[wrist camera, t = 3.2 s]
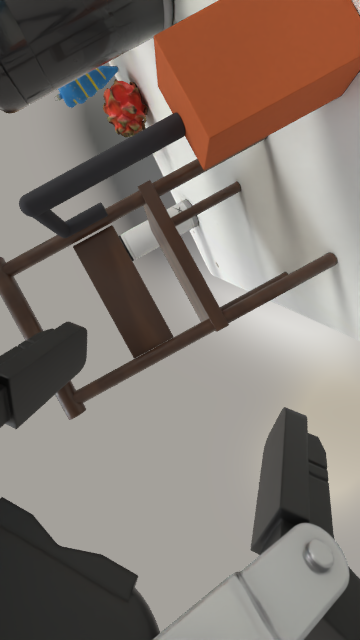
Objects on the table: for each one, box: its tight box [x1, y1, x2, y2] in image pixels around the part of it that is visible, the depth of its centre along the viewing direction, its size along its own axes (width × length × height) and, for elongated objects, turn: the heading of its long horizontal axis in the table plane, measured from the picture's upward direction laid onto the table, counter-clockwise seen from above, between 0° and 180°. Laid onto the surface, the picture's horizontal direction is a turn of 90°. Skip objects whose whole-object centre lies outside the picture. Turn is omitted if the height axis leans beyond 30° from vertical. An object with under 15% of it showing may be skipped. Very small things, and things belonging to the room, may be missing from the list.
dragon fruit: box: [103, 79, 147, 137], centre depth 57 cm, size 8×8×12 cm
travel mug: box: [119, 200, 198, 261], centre depth 66 cm, size 6×7×20 cm
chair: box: [0, 136, 337, 420], centre depth 31 cm, size 12×15×27 cm
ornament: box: [57, 66, 118, 107], centre depth 62 cm, size 5×5×15 cm
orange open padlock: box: [19, 0, 360, 238], centre depth 18 cm, size 8×6×19 cm
